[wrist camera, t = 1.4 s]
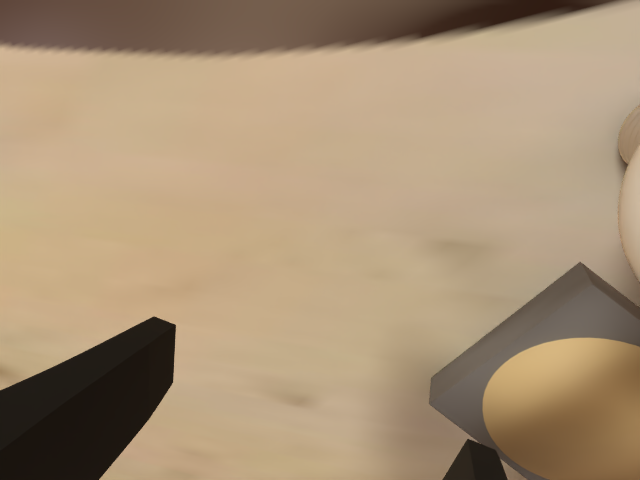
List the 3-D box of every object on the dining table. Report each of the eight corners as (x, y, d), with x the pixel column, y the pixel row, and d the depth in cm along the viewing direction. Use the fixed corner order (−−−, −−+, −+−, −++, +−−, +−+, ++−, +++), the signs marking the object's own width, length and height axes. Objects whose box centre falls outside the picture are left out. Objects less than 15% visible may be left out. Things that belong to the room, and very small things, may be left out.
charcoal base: (753, 396, 17) (786, 436, 15) (569, 483, 22) (579, 521, 20) (580, 262, 17) (593, 286, 15) (431, 377, 21) (428, 407, 20)
